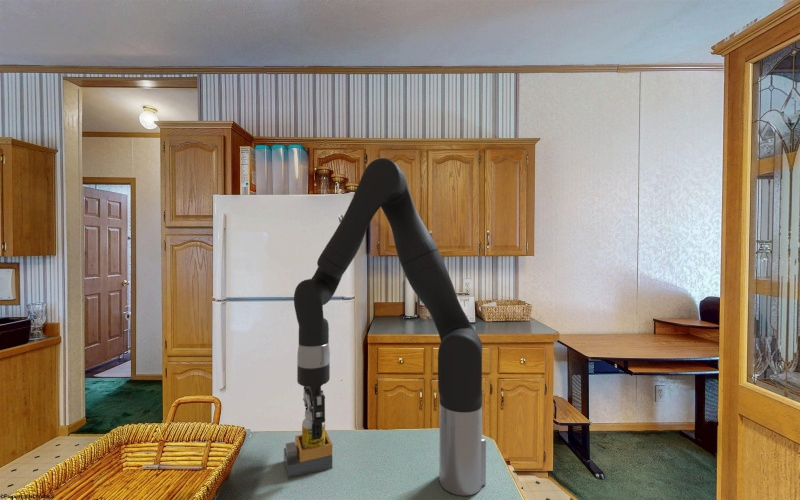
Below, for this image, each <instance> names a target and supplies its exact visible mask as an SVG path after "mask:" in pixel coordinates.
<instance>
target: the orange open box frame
mask: <svg viewBox="0 0 800 500" xmlns="http://www.w3.org/2000/svg"><path fill="white" fill-rule="evenodd" d="M283 463H284V467H285V468H284V469H285V473H286V478H287V480H291V479H294V478H298V477H302V476H307V475H311V474H314V473H318V472H321V471H327V470H330V469H333V443H332V440H331V439H330V437H329V435H328V432H327V430H326V429H325V445H321V446H316V447H311V448H307V449H302V434H299V435H294V441H292V442H291V441H290V442H288V443H285V447H283Z"/></svg>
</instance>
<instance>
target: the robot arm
mask: <svg viewBox="0 0 800 500" xmlns="http://www.w3.org/2000/svg"><path fill="white" fill-rule="evenodd" d="M346 209H347V210H346V211H345V213H344V216H343V217H342V219H341V221H340V222H339V224H338V226H337V228H336V230H335V231H334V233H333V235H332V236H331V237H330V239H329V241H328V242H327V244H326V246H325V247H324V249H323V250H322V252H321V254H320V256H319V257H318V258H317V261H316V263H317V268H316V270H315V272H314V274H313V276H312V277H311V278H309V279H305V280H302V281H300V282H299V283H298V284H297V285H296V287H295V290H294V295H293V305H294V311H295V315H296V320H297V324H298V348H297V360H296V363H297V366H296V367H297V371H296V372H297V373H296V374H297V375H296V376H297V378H296V379H297V380H296V381H297V384H298V385H300V386H301V387H303V398H302V401H303V402H304V403H303V405H304V407H305V411H306V410H307V409H308V412H309V413H310V414H311V422H312V439H313V440H315V439H320V438H321V437H322V423H323V422H325V423H326V408H325V407H326V396H325V394H324V390H322V386H323V385H326V384H327V383H329V381H330V378H331V377H330V372H331V369H330V368H331V367H330V364H331V363H330V362H331V361H330V359H331V358H330V356H331V355H330V353H331V352H330V351H331V350H330V345H329V344H330V341H329V338H330V334H329V331H330V329H329V321H328V320H327V319H326V318H325V317H324V308H323V306H324V305H326V304H328V303H329V302H330V300H331V299H332V298H333V296H334V295H335V293H336V292H337V289H338V286H339V284H340V282H341V279H342V277H343V275H344V274H345V272H346V271H347V269H348V268H349V266H350V265H351V263H352V261H353V260H354V259H355V256H357V253H358V251H359V249H360V248H361V246H362V243H363V241H364V237H365V236H366V232H367V230H368V227H369V225H370V223H371V222H372V220H373V218H374V216H375V215H376V213H377V212H378V210H379V209H382V212H383V213H384V215H385V217H386V220H388V223H389V225H390V228H391V232H392V236H393V242H394V246H395V250H396V254H397V257H398V260H399V264H400V265H401V267H402V270H403V272H404V274H405V276H406V279H407V281H408V283H409V285H410V287H411V288H412V290H413V291H414V293H415V294H416V296H417V297H418V299H419V300H420V301H421V303H422V304H423V305H424V307H425V308H426V309H427V311H428V312H429V315H430V316H431V318H432V320H433V322H434V325H435V327H436V330H437V333H438V337H439V340H440V344H439V347H438V351H437V390H438V394H439V395H438V396H439V450H438V451H439V460H438V461H439V473H438V474H439V483H440V485H441V488H443V489H444V490H445V491H447V492H449V493H451V494H452V495H456V496H462V497H463V496H464V497H465V496H472V495H475V494H477V493H479V491H480V490H481V489H482V488H483V486H485V485H487V442H486V439H485V438H483V345H482V341H481V338H480V337H479V334H478V333H477V332H476V329H474V327H473V325H472V324H471V322H470V320H469V319H468V317H467V314H466V313H465V312H464V310H463V307H462V306H461V304H460V302H459V299H458V296H457V293H456V289H455V287H454V284H453V282H452V279H451V276H450V274H449V271H448V270H447V266H446V264H445V261H444V260H443V257H442V255H441V253H440V250H439V249H438V247H437V244H436V243H435V241H434V239H433V237H432V235H431V234H430V231H429V230H428V228H427V227H426V225H425V223H424V221H423V220H422V218H421V217H420V215H419V212H418V211H417V207H416V205H415V202H414V200H413V197H412V194H411V191H410V188H409V183H408V181H407V178H406V175H405V174H404V171H402V169H401V168H400V166H399V165H398V164H397V163H396V162H394V161H393V160H392V159H389V158H385V157H383V158H382V157H380V158H377V159H373V160H372V161H371V162H370V163H369V164H368V165H367V166H366V168H365V169H364V172H363V173H362V175H361V177H360V180H359V182H358V185H357V188H356V190H355V192H354V194H353V196H352V199H351V201H350V203H349V206H348V207H347V208H346ZM312 407H313V408H312ZM316 413H320V417H316Z"/></svg>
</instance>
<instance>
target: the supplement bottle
mask: <svg viewBox="0 0 800 500" xmlns="http://www.w3.org/2000/svg"><path fill="white" fill-rule="evenodd" d="M312 408H313V407H312ZM304 417H305V418H304V419H303V420H302V424H301V432H302V434H301V435H302V449H307V448H311V447H316V446H321V445H325V430H326V421H325V422H323V423H322V437H321V438H320V439H315V440H313V439H312V422H311V414H310V413H309V412H308V409H307V410H306V409H305V411H304ZM316 417H320V413H316Z"/></svg>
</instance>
